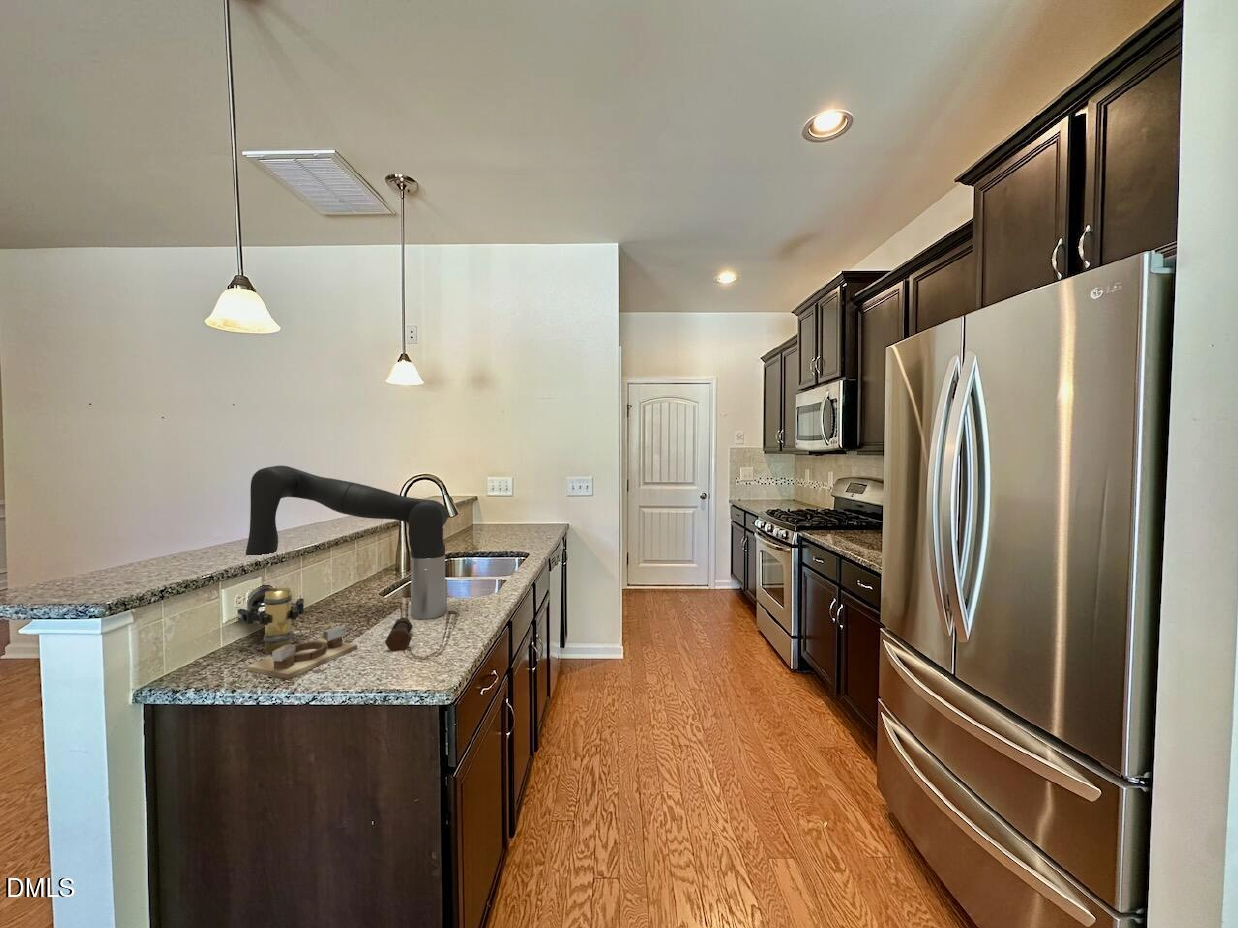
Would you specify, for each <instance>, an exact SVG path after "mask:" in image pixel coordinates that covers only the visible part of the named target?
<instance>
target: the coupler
mask: <svg viewBox="0 0 1238 928" xmlns="http://www.w3.org/2000/svg"><path fill="white" fill-rule="evenodd" d="M292 601H293V594H292V588H291V587H276V588H275V589H270V590H267V591H265V597H264V604H265V613H266V614H267V615H268V625H264V635H263V642H264V652H265V653H266V652H268V653H267V654H272V651H274V650H276V649H278V648H280V647H282V646H284V645H286V644H292V638H293V631H292V630H291V629H292V619H291V603H292Z"/></svg>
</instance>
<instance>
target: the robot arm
mask: <svg viewBox="0 0 1238 928" xmlns="http://www.w3.org/2000/svg"><path fill="white" fill-rule="evenodd" d="M249 496H250V508H249V509H250V516H249V518H250V519H249V532H248V533H249V534H248V540H247V544H246V545H247V546H246V549H245V554H246V555H262V554H269V553H274V552H276V551H277V552H278V548H279V547H278V546H279V535H278V530H277V524H276V523H277V522H276V521H277V520H276V515H277V511H278V507H279V504H280V501H281V499H284V498H297V499H301V500H303V499H304V500H308V501H313V502H316V503H319V504H321V505H323V506H324V507H326V508H327V509H330V510H332V511H334V512H337V513H339V514H342V515H343V514H344V515H348V516H352V517H356V518H363V519H373V520H374V519H375V520H377V519H378V520H392V521H393V520H394V521H398V522H399V521H400V522H404V523H408V542H409V549H410V552H411V553H410V554H411V558H410V560H411V563H410V564H411V566H410V569H411V571H410V572H411V573H410V575H411V576H410V578H411V579H410V582H411V583H410V586H411V587H410V602H411V603H410V616H411V618H413V619H415V620H428V619H429V620H430V619H436V618H439V617H441V616H443V615H445V613H446V612H447V611H448V579H446V546H445V544H444V525H446V522H447V520H448V517H449V515H448V514H449V512H448V509H447V508H446V506H444V504H443V503H441V502H439V501H437V500H434V499H425V498H424V499H423V498H418V497H409V496H404V495H401V494H396V493H394V492H391V491H387V490H384V489H380V488H376V487H373V486H369V485H365V484H362V483H357V482H352V481H346V480H341V479H335V478H330V477H323V476H318V475H315V474H312V473H310V472H307V471H303V470H300V469H297V468H295V467H291V466H287V465H272V466H267V467H263V468H260V469H258V470H257V471H256V472H255V473H254V474H253V475H252V478H251V481H250V494H249ZM270 589H275V588H273V587H272V586H270V585H262V586H260V587H258V588H256V589H255V590H253V591H252V592H251V594H250V595H249V597H248V600H247V607H246V609H245V608H239V609H237V621H238V622H242V623H243V624H244V623H245V624H246V625H251V624H253V623H254V622H256V623H258V624H259V625H263V626H265V625H268V615H267V614H266V613H265V604H264V597H265V591H267V590H270ZM304 601H305V599H304V598H303V597H301V598H298V599H297V600H295V601H294V602H291V621H293V620H297V618H299V617H300V615H303V614H304V611H305V610H304V609H305V608H304V607H305V606H304V604H305V603H304Z"/></svg>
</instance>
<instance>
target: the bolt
mask: <svg viewBox="0 0 1238 928" xmlns="http://www.w3.org/2000/svg"><path fill="white" fill-rule="evenodd" d="M413 626H414V625H413V624H412V622H411V620H410V619H409V618H407V617H400V618H398V619H396V620H395V622H394V623H393V626H392V628H391V631H390V632H389V633H388V635H387V637H386V639H385V640H384V643H385V645H386V646H387V648H388V650H389V651H390V652H399V651H400V652H401V651H405V650H407V648H408V646H409V645H410V642H411V641H412V640H413V639H412V638H413V637H412V635H411V634H410V633H411V631H412V629H413Z"/></svg>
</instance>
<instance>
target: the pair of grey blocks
mask: <svg viewBox="0 0 1238 928" xmlns="http://www.w3.org/2000/svg"><path fill="white" fill-rule="evenodd" d="M340 637H342V638H343V637H346V627H345V626H342V625H339V626H335V627H333V628H328V629H325V630H323V639H324V640H326V641H330V640H333V639H336V638H340ZM295 645H296V644H292V643H291V644H286V645H284V646H282V647H280V648H278V649H276V650H274V651H272V653H271V655H272V656H271V657H272V661H283V660H285V659H287V658H288V657H290V656H292V655H294V654H295Z"/></svg>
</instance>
